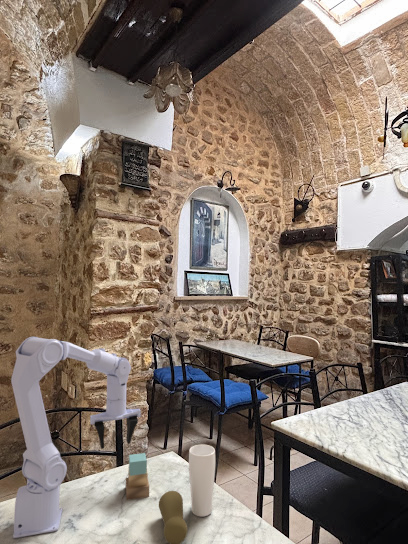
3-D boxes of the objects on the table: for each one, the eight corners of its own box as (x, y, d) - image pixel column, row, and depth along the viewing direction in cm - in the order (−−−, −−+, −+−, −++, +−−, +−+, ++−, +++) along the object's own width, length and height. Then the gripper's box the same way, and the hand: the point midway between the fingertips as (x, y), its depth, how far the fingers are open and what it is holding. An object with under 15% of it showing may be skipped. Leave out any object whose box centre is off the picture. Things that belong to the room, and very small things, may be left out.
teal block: (129, 475, 91) (130, 462, 91) (128, 467, 95) (129, 454, 95) (146, 473, 92) (146, 460, 92) (144, 465, 96) (145, 452, 96)
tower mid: (128, 487, 90) (129, 475, 91) (128, 477, 95) (128, 466, 96) (147, 484, 92) (147, 473, 92) (146, 475, 97) (146, 464, 97)
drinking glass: (197, 523, 80) (198, 458, 81) (183, 508, 86) (184, 448, 87) (220, 513, 84) (220, 451, 85) (205, 499, 89) (205, 441, 90)
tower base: (126, 501, 89) (126, 489, 89) (125, 488, 95) (125, 477, 95) (149, 497, 91) (149, 486, 91) (146, 485, 97) (147, 474, 97)
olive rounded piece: (175, 518, 83) (182, 554, 72) (154, 510, 82) (157, 545, 71) (187, 495, 84) (195, 527, 73) (165, 487, 83) (170, 518, 72)
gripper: (92, 405, 93) (91, 455, 92) (143, 398, 99) (143, 445, 98) (89, 398, 99) (88, 445, 98) (137, 392, 106) (137, 436, 105)
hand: (115, 444), depth 99 cm, fingers open, 7 cm apart
